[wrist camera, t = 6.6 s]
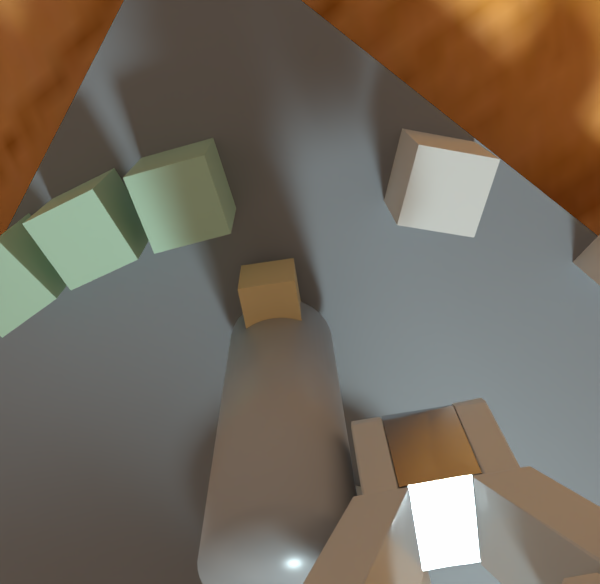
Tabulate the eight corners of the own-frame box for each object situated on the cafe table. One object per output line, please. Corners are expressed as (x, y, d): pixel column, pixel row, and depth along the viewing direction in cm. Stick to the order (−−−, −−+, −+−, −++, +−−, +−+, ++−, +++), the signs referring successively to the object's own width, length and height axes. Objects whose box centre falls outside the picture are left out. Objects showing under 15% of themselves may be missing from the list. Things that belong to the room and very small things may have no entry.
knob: (424, 606, 19) (489, 876, 13) (243, 628, 19) (228, 904, 13) (398, 239, 13) (496, 428, 7) (138, 276, 13) (27, 491, 7)
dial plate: (371, 733, 28) (386, 859, 24) (-144, 544, 21) (-247, 674, 17) (825, 387, 19) (974, 490, 15) (203, -123, 12) (166, -187, 8)
